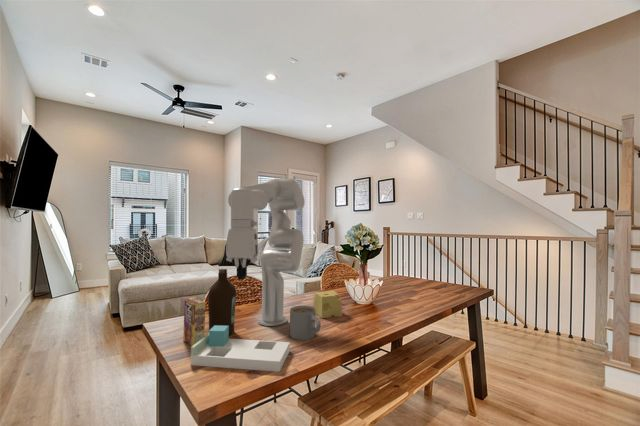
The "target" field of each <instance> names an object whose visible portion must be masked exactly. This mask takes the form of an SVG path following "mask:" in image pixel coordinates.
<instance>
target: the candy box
mask: <svg viewBox="0 0 640 426" xmlns="http://www.w3.org/2000/svg"><path fill="white" fill-rule="evenodd" d="M206 305H207V304H206V301H205V300H202V299H199V298H198V297H197V298H196V297H190V298H185V299H184V308H183V310H184V312H183V334H182V335H183V341H184V343H187V344H188V345H189V346H190V347H192V346H193V345H194V344H196V343H197V342H198V341H199V340H201V339H202V338H203V337H205V332H206V331H205V328H206V327H205V326H206V324H205V323H206Z"/></svg>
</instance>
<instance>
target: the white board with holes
mask: <svg viewBox="0 0 640 426" xmlns="http://www.w3.org/2000/svg"><path fill="white" fill-rule="evenodd" d="M290 347H291V342H290V341H288V342H287V341H274V340H273V341H272V340H261V339H260V340H259V339H256V340H255V339H241V338H229V340H228V342H227V343H226V344H225V345H224V346H209V333H207V334H206V335H204V337H203V338H202V339H201V340H199V341H198V342H197V343H196V344H194V345H193V346H190V366H196V367H197V366H199V367H210V368H211V367H212V368H223V369H226V368H227V369H238V370H251V371H262V372H263V371H264V372H277V373H280V372H281V370H282V368H283V366H284V363H285V361H286V360H287V358H288V356H289V354H290V350H291V348H290Z"/></svg>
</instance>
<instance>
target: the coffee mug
mask: <svg viewBox="0 0 640 426" xmlns="http://www.w3.org/2000/svg"><path fill="white" fill-rule="evenodd" d="M321 325H322V324H321V320H320V318H319V317H318V316H316V313H315V308H314V306H311V305H296V306H292V307H291V308H290V309H289V336H290V337H291V338H292V339H294V340H300V341H303V340H304V341H305V340H310V339H313V338H314V337H315V336H316V333H319V332H320V330H321V328H322V327H321Z"/></svg>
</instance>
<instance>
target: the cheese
mask: <svg viewBox="0 0 640 426" xmlns="http://www.w3.org/2000/svg"><path fill="white" fill-rule="evenodd" d="M342 303H343V302H342V299H341V297H340V294H338V292H337V291H335V290H327V291H320V292H319V291H317V292H314V296H313V307H314V308H315V315H317V316H319V317H320V318H321V319H327V318H331V317H335V318H337V317H338V318H339V317H342V316H343V309H342Z"/></svg>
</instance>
